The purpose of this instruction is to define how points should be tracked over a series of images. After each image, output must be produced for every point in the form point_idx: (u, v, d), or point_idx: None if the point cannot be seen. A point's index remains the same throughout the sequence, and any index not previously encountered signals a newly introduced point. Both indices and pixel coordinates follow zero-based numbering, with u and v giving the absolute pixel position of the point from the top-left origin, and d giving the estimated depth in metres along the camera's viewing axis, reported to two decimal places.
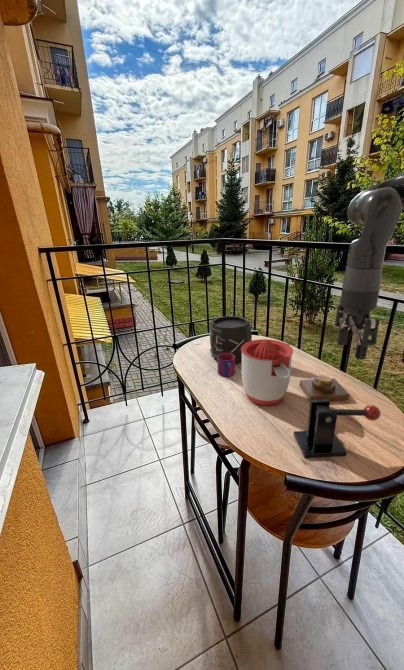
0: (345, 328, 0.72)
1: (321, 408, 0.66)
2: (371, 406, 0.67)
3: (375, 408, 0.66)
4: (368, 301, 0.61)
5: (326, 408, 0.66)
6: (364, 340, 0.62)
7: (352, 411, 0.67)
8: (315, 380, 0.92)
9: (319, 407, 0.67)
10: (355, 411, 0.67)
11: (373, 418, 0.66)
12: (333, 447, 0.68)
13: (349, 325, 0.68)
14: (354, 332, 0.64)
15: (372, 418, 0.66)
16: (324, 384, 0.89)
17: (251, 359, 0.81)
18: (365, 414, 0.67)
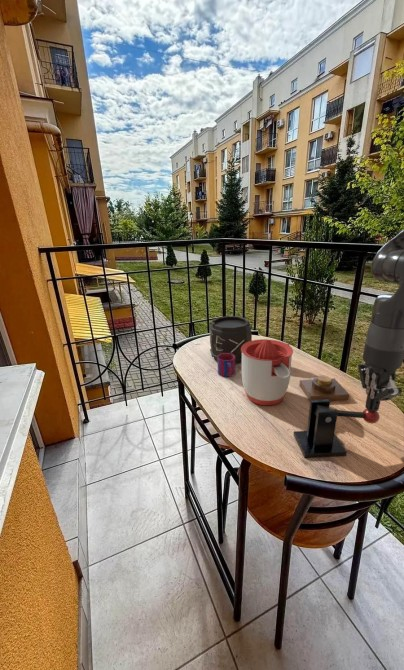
0: None
1: (321, 408, 0.66)
2: None
3: None
4: (394, 360, 0.58)
5: (326, 408, 0.66)
6: (378, 398, 0.62)
7: (351, 412, 0.67)
8: (315, 380, 0.92)
9: (319, 407, 0.67)
10: (355, 413, 0.67)
11: (372, 421, 0.66)
12: (333, 447, 0.68)
13: (371, 380, 0.64)
14: (372, 388, 0.63)
15: (371, 421, 0.66)
16: (324, 384, 0.89)
17: (251, 359, 0.81)
18: (364, 417, 0.67)
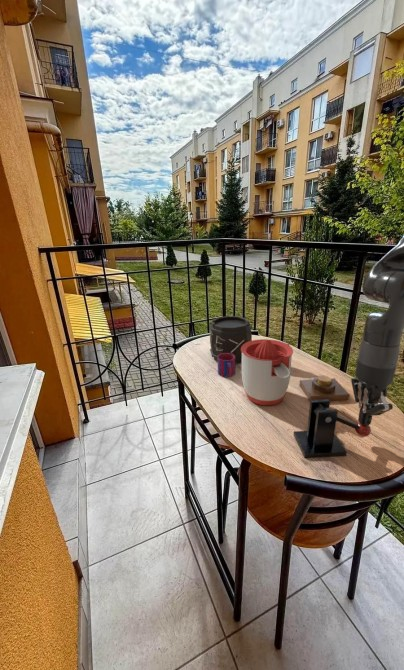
0: None
1: (323, 407, 0.66)
2: None
3: (368, 425, 0.68)
4: (385, 377, 0.60)
5: (328, 409, 0.66)
6: (370, 413, 0.64)
7: (347, 421, 0.68)
8: (315, 380, 0.92)
9: (322, 406, 0.67)
10: (350, 422, 0.68)
11: (363, 434, 0.68)
12: (333, 447, 0.68)
13: (364, 395, 0.66)
14: (364, 403, 0.65)
15: (362, 434, 0.68)
16: (324, 384, 0.89)
17: (251, 359, 0.81)
18: (357, 428, 0.68)
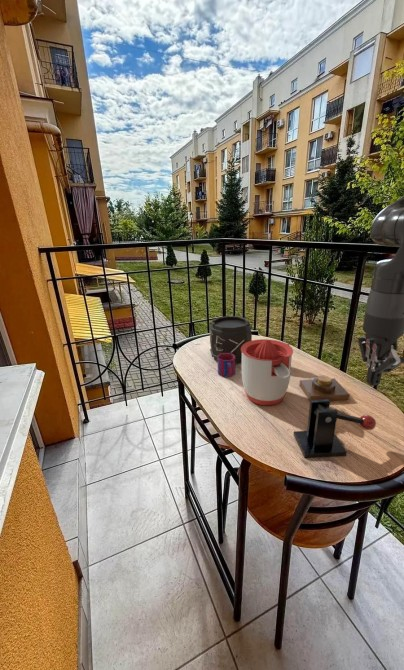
0: None
1: (322, 408, 0.66)
2: (368, 416, 0.68)
3: (372, 418, 0.67)
4: (396, 328, 0.56)
5: (327, 409, 0.66)
6: (379, 369, 0.59)
7: (350, 416, 0.68)
8: (315, 380, 0.92)
9: (320, 406, 0.67)
10: (353, 417, 0.68)
11: (368, 427, 0.67)
12: (333, 447, 0.68)
13: (372, 352, 0.62)
14: (373, 360, 0.61)
15: (367, 427, 0.67)
16: (324, 384, 0.89)
17: (251, 359, 0.81)
18: (361, 422, 0.68)
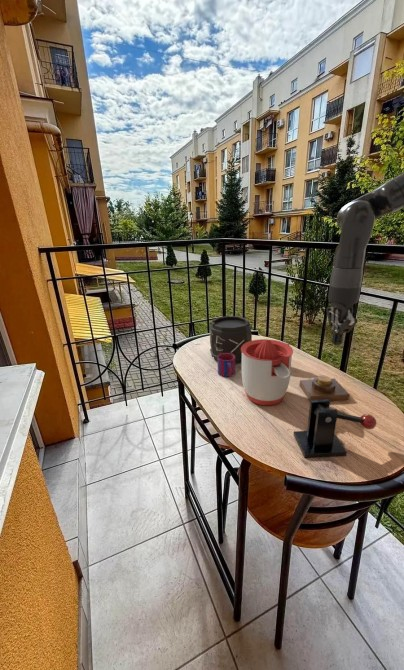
0: (338, 327, 0.79)
1: (322, 408, 0.66)
2: (369, 415, 0.68)
3: (372, 417, 0.67)
4: (351, 296, 0.72)
5: (327, 409, 0.66)
6: (340, 330, 0.76)
7: (350, 416, 0.67)
8: (315, 380, 0.92)
9: (320, 406, 0.67)
10: (353, 417, 0.67)
11: (369, 427, 0.67)
12: (333, 447, 0.68)
13: None
14: (335, 323, 0.77)
15: (368, 427, 0.67)
16: (324, 384, 0.89)
17: (251, 359, 0.81)
18: (362, 422, 0.68)
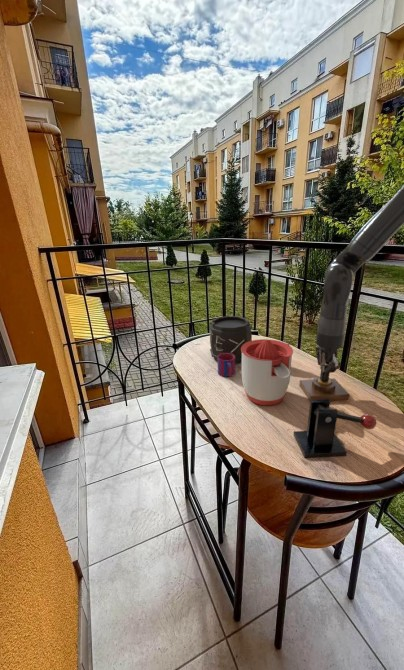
0: (325, 366, 0.89)
1: (322, 408, 0.66)
2: (369, 415, 0.68)
3: (372, 417, 0.67)
4: (335, 342, 0.82)
5: (327, 409, 0.66)
6: (326, 370, 0.86)
7: (350, 416, 0.67)
8: (315, 380, 0.92)
9: (320, 406, 0.67)
10: (353, 417, 0.67)
11: (369, 427, 0.67)
12: (333, 447, 0.68)
13: (323, 358, 0.88)
14: (322, 363, 0.87)
15: (368, 427, 0.67)
16: None
17: (251, 359, 0.81)
18: (362, 422, 0.68)
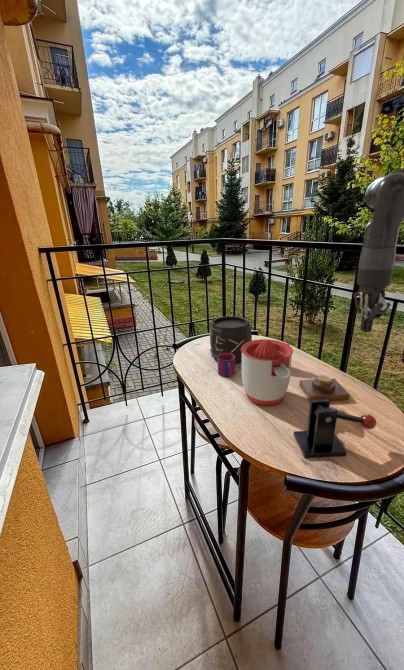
0: None
1: (322, 408, 0.66)
2: (369, 415, 0.68)
3: (372, 417, 0.67)
4: (383, 278, 0.67)
5: (327, 409, 0.66)
6: (370, 316, 0.71)
7: (350, 416, 0.67)
8: (315, 380, 0.92)
9: (320, 406, 0.67)
10: (353, 417, 0.67)
11: (369, 427, 0.67)
12: (333, 447, 0.68)
13: (365, 302, 0.73)
14: (365, 308, 0.72)
15: (368, 427, 0.67)
16: (324, 384, 0.89)
17: (251, 359, 0.81)
18: (362, 422, 0.68)
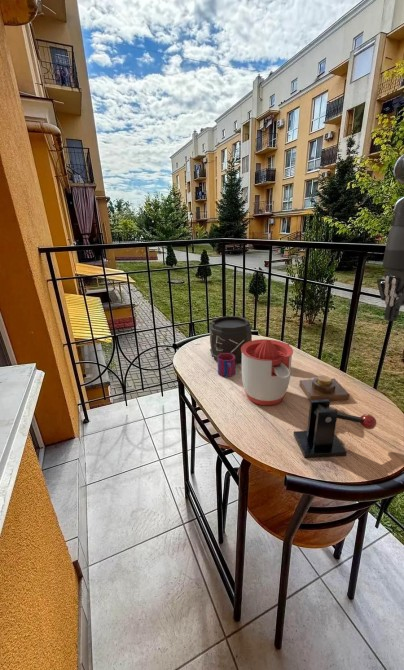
0: None
1: (322, 408, 0.66)
2: (369, 415, 0.68)
3: (372, 417, 0.67)
4: None
5: (327, 409, 0.66)
6: (398, 302, 0.65)
7: (350, 416, 0.67)
8: (315, 380, 0.92)
9: (320, 406, 0.67)
10: (353, 417, 0.67)
11: (369, 427, 0.67)
12: (333, 447, 0.68)
13: None
14: (392, 294, 0.66)
15: (368, 427, 0.67)
16: (324, 384, 0.89)
17: (251, 359, 0.81)
18: (362, 422, 0.68)
